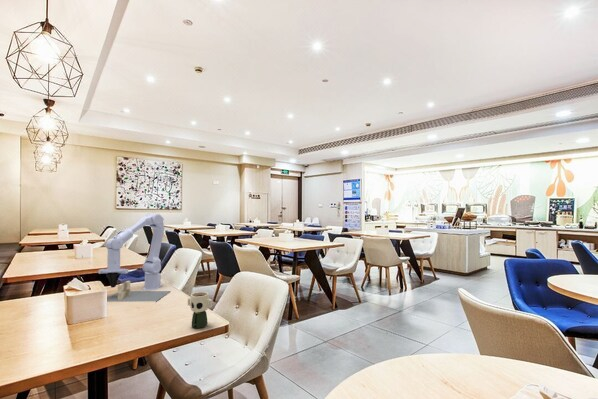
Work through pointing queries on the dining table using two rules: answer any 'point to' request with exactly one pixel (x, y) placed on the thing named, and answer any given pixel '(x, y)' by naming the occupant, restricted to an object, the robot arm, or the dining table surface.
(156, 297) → the rubber mat
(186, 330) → the dining table surface
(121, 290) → the birch tile
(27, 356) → the dining table surface
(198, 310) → the character mug
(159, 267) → the robot arm
